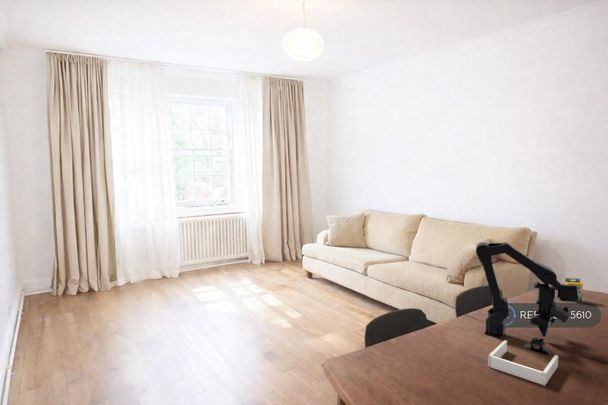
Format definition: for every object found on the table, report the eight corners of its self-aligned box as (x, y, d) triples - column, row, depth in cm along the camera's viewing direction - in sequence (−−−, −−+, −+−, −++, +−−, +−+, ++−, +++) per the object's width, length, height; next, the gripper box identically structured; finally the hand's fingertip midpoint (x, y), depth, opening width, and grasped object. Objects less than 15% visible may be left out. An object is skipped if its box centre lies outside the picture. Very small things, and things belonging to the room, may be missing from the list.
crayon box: (566, 301, 207) (567, 279, 206) (563, 299, 210) (565, 278, 209) (581, 301, 206) (583, 280, 205) (578, 299, 209) (580, 278, 208)
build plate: (558, 353, 152) (559, 341, 152) (553, 359, 147) (554, 347, 147) (522, 342, 161) (523, 331, 161) (517, 348, 156) (517, 337, 155)
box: (487, 366, 141) (488, 355, 141) (504, 350, 153) (504, 340, 153) (544, 385, 129) (545, 374, 128) (557, 366, 141) (558, 355, 140)
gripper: (564, 310, 147) (562, 350, 149) (574, 298, 160) (572, 335, 162) (530, 303, 155) (529, 341, 156) (543, 292, 168) (541, 327, 170)
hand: (544, 336), depth 161 cm, fingers closed
